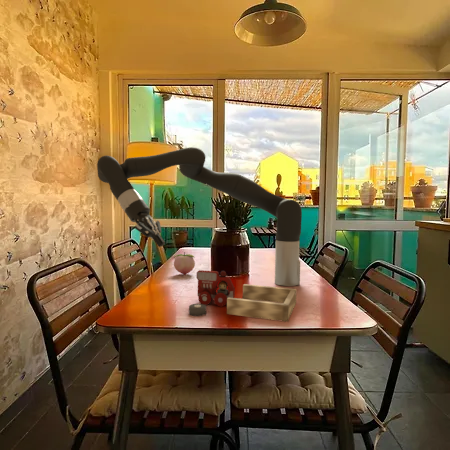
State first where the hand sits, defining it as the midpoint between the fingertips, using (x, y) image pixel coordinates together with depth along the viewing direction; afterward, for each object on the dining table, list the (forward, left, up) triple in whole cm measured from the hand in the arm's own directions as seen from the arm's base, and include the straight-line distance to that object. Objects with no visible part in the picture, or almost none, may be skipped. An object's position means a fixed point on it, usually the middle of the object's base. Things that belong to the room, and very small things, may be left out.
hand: (162, 245), depth 113 cm
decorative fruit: (-4, -33, -18) cm, 38 cm away
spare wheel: (-13, +17, -18) cm, 28 cm away
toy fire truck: (-18, +7, -18) cm, 26 cm away
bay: (-32, +12, -18) cm, 38 cm away
